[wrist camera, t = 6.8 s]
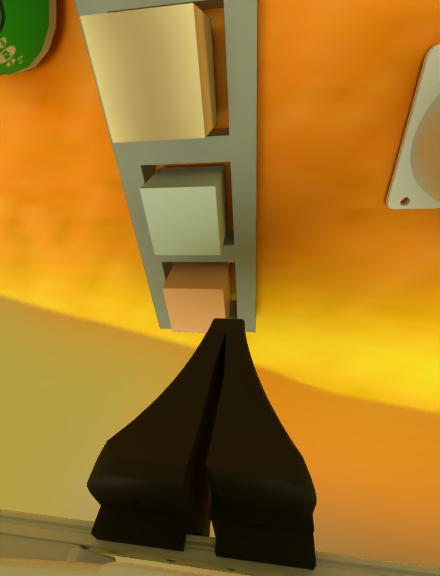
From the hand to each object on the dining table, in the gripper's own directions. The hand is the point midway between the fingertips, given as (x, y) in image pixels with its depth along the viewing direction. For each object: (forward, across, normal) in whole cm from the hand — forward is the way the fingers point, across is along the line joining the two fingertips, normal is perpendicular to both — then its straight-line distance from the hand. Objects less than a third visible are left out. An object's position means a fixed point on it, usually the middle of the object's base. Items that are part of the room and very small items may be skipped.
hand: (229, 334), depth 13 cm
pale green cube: (+9, +3, -3) cm, 10 cm away
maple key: (+8, +3, -10) cm, 13 cm away
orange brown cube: (+9, +3, +4) cm, 10 cm away
